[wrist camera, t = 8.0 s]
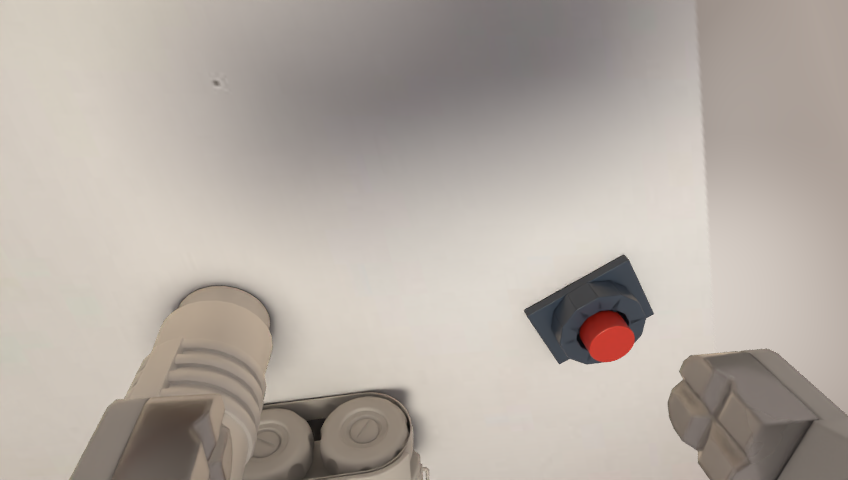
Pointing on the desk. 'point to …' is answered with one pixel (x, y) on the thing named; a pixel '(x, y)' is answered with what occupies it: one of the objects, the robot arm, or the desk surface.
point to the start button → (606, 336)
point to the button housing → (589, 309)
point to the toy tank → (336, 441)
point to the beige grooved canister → (214, 360)
